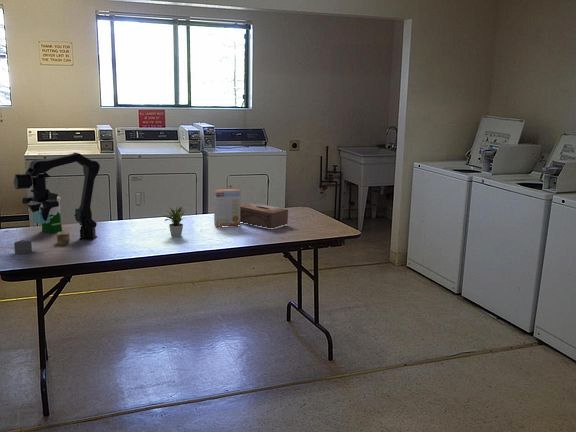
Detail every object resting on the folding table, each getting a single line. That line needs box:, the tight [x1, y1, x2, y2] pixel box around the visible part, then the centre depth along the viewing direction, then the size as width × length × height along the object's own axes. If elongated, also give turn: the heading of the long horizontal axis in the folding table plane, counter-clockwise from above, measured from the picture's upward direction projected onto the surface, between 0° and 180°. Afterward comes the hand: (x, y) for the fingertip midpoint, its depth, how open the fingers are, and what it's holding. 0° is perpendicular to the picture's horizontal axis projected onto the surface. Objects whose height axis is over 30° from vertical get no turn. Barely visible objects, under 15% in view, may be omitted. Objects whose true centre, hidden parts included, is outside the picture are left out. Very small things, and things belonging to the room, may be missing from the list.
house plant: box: [160, 205, 186, 238], centre depth 284 cm, size 14×14×16 cm
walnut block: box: [56, 231, 71, 245], centre depth 266 cm, size 5×5×5 cm
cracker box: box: [213, 188, 241, 228], centre depth 308 cm, size 14×6×21 cm, turn 111°
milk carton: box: [40, 192, 63, 234], centre depth 285 cm, size 9×9×20 cm
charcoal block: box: [13, 239, 33, 255], centre depth 249 cm, size 5×5×5 cm
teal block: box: [32, 209, 50, 225], centre depth 258 cm, size 5×5×5 cm
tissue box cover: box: [240, 202, 289, 228], centre depth 316 cm, size 26×14×10 cm, turn 52°
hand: (41, 219), depth 258 cm, fingers closed on teal block, 5 cm apart
